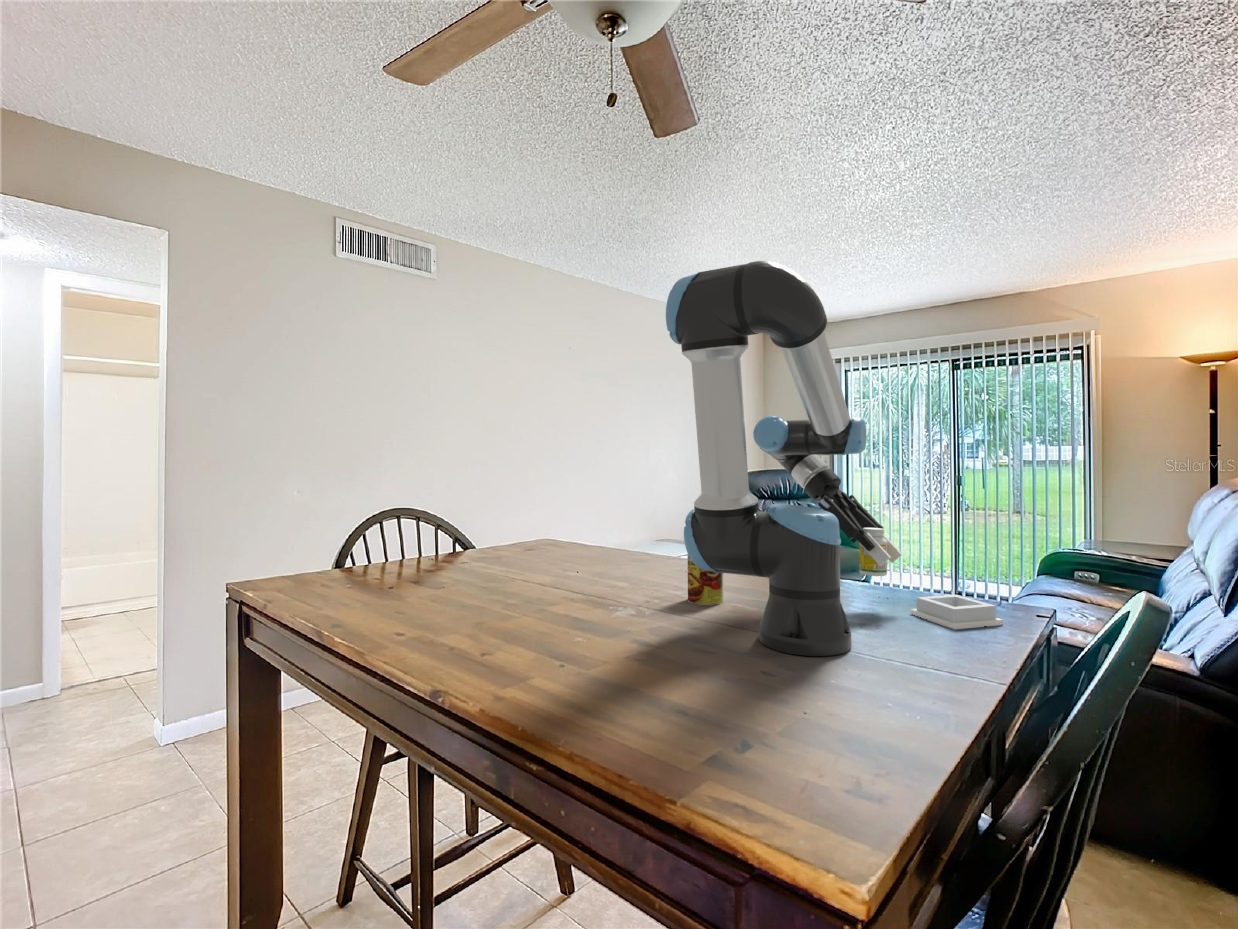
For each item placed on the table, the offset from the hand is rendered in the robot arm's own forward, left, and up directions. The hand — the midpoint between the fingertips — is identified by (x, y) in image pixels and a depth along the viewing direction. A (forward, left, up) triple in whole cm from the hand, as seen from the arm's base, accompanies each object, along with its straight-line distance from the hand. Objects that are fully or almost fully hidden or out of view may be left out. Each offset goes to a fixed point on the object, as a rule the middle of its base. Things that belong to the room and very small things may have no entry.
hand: (891, 560), depth 119 cm
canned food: (-33, +19, -11) cm, 40 cm away
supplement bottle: (-2, +3, -4) cm, 5 cm away
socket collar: (+8, -8, -11) cm, 16 cm away
